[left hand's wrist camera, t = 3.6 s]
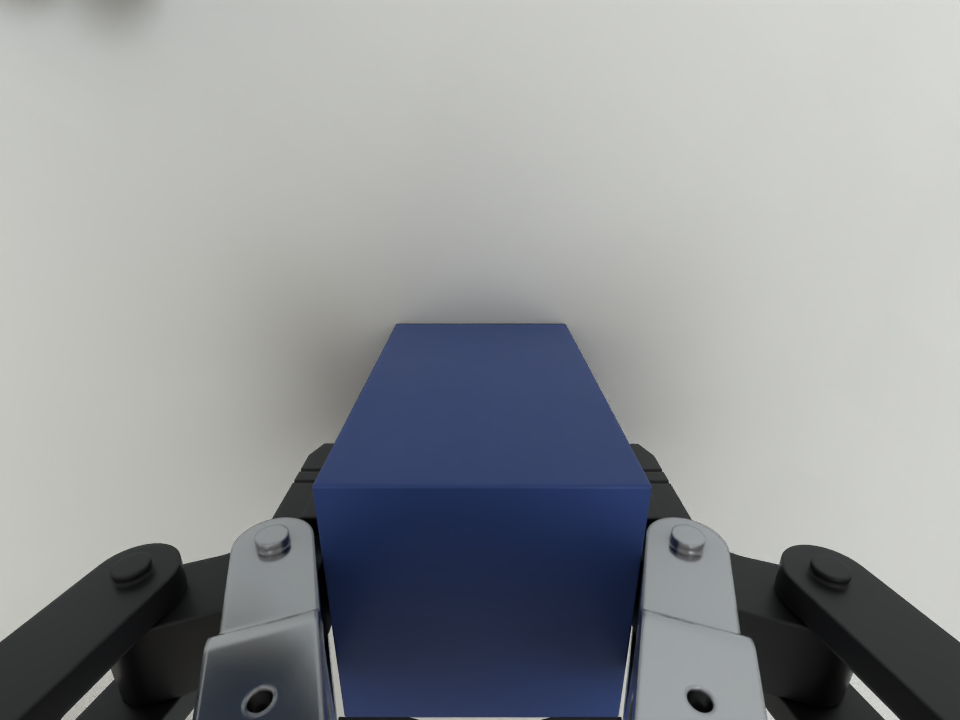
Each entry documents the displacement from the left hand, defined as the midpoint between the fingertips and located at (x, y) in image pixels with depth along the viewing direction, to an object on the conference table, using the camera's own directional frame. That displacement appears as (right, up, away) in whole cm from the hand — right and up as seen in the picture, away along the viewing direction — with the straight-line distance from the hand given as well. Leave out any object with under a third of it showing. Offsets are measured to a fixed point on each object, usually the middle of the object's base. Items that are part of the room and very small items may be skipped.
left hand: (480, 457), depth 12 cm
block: (0, +1, +3) cm, 3 cm away
